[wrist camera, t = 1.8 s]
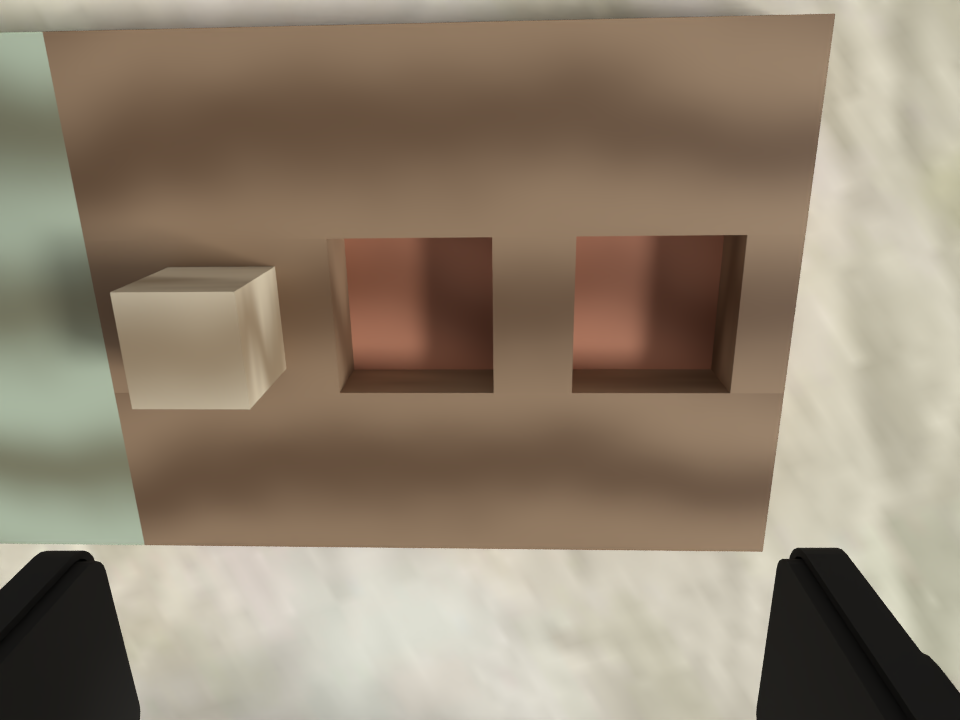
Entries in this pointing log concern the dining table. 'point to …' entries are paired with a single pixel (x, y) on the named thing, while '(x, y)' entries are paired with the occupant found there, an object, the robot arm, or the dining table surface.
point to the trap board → (414, 278)
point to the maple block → (200, 337)
